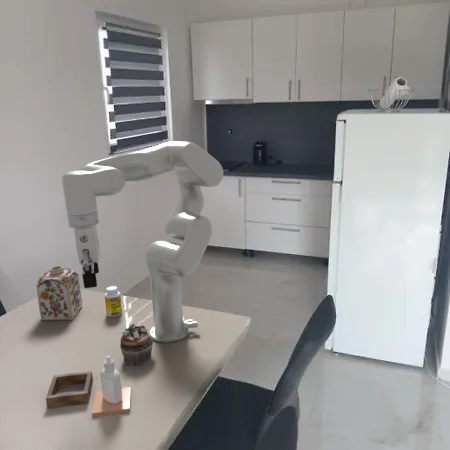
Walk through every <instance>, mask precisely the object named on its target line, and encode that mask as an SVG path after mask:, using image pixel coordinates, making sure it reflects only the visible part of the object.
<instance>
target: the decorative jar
mask: <svg viewBox="0 0 450 450" xmlns="http://www.w3.org/2000/svg"><path fill="white" fill-rule="evenodd" d="M36 293H37V294H36V295H37V302H38V303H37V304H38V307H39V314H40V320H41V321H71V320H72V321H73V320H74V318H75V317H76V316H77V315H78V313H79V312H80V310H81V308H82V307H83V300H82V299H83V298H82V291H81V283H80V275H79V274H78V272H76V271H75V270H74V269H72V268H69V267H64V266H63V265H54V266H52V267H50V268H49V270H47V271H44V272H43V273H40V275H39V278H38V281H37V284H36Z"/></svg>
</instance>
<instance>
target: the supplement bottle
mask: <svg viewBox="0 0 450 450" xmlns="http://www.w3.org/2000/svg"><path fill="white" fill-rule="evenodd" d="M105 290H106V291H105V293H104V302H105V311H106V312H105V313H106V316H107V317H110V318H115V317H119V316H121V315H122V313H123V308H122V297H121V296H122V295H121V292H120V291H119V289H118V287H117V286H116V285H111V286H108V287H106V289H105Z"/></svg>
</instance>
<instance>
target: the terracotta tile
mask: <svg viewBox="0 0 450 450" xmlns="http://www.w3.org/2000/svg"><path fill="white" fill-rule="evenodd" d="M121 391H122V401H120V402H119V403H117V404H111V403H109V402H107V401H105V400H104V398H103V395H102V389H100V390H95V393H94V399H93V403H92V404H93V405H92V409H91V417H92V418H94V417H103V416H110V415H116V414H124V413H130V412H131V398H132V386H125V387H121Z"/></svg>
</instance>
